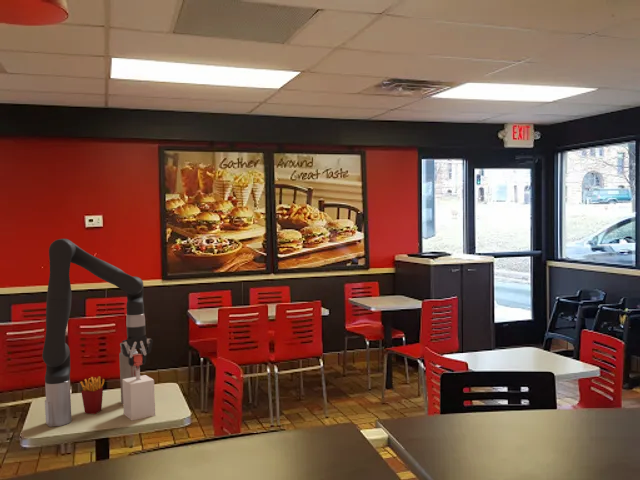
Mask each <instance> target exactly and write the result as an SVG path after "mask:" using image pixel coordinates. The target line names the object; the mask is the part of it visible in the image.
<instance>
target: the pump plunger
mask: <svg viewBox="0 0 640 480" xmlns="http://www.w3.org/2000/svg"><path fill="white" fill-rule="evenodd" d="M142 365H144V364H143V354H142V353H138V354H133V366H136V381H137V380H140V376H141V367H140V366H142Z"/></svg>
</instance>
